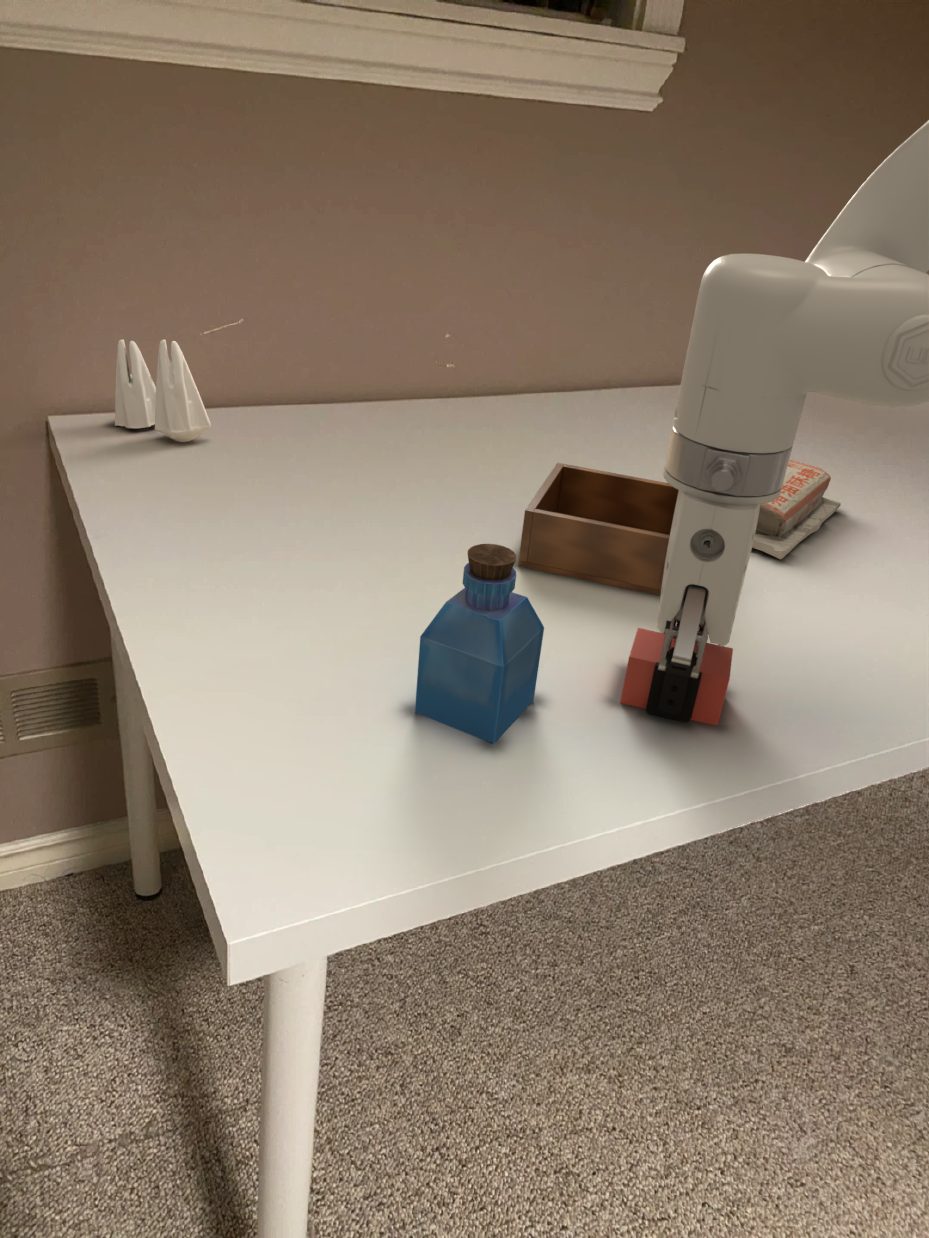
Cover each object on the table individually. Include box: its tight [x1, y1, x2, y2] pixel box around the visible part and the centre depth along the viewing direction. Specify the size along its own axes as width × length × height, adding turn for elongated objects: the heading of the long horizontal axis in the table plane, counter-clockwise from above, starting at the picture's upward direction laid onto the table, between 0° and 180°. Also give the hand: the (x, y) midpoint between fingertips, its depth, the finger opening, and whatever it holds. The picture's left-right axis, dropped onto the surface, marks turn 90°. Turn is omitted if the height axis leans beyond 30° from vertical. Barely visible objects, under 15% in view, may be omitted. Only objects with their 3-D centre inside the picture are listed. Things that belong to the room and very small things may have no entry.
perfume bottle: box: [414, 543, 545, 745], centre depth 64 cm, size 6×6×12 cm
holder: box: [517, 462, 679, 597], centre depth 90 cm, size 14×14×6 cm
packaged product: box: [752, 459, 842, 560], centre depth 100 cm, size 18×5×10 cm
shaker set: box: [114, 338, 212, 443], centre depth 106 cm, size 12×4×11 cm, turn 59°
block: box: [619, 627, 734, 726], centre depth 69 cm, size 7×4×4 cm, turn 73°
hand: (672, 694), depth 70 cm, fingers closed on block, 4 cm apart
